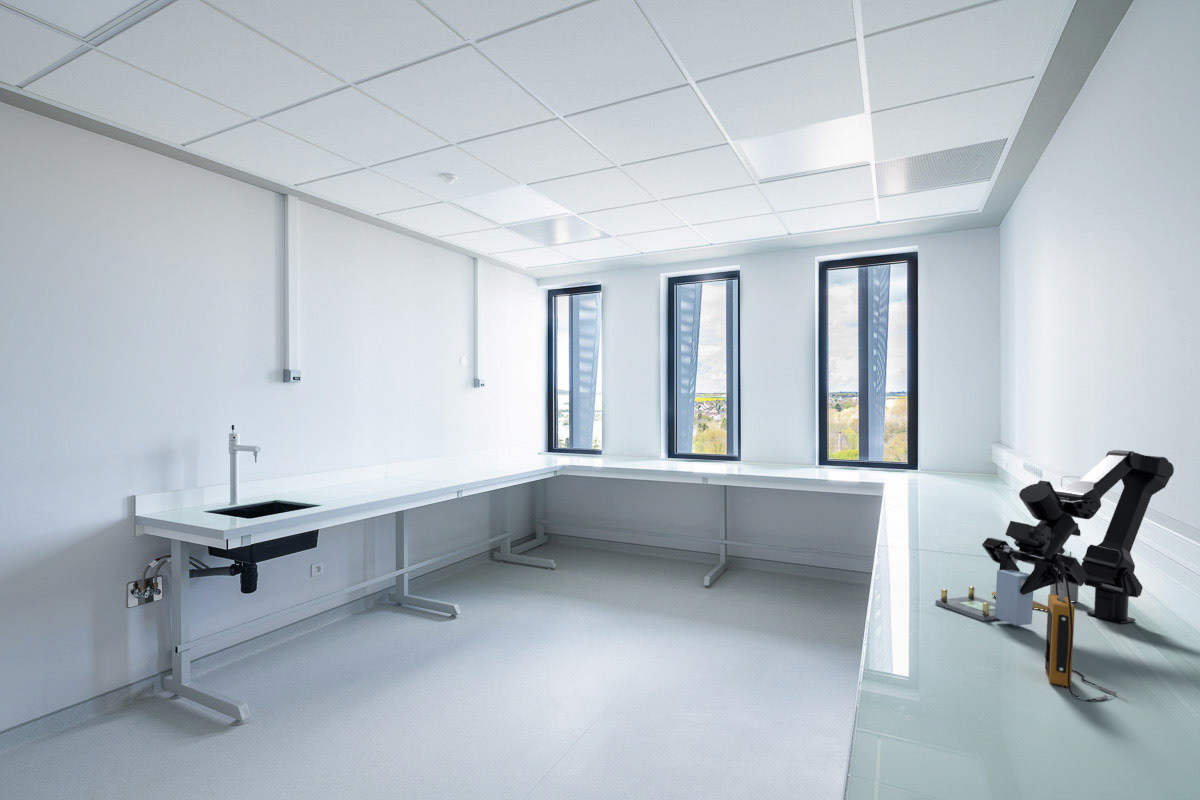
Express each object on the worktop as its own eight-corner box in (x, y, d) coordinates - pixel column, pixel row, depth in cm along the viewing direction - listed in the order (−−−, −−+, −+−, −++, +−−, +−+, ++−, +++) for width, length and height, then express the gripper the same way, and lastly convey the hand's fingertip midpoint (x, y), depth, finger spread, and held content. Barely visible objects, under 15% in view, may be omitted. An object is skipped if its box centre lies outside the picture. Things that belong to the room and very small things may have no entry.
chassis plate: (972, 600, 139) (973, 585, 139) (1021, 616, 129) (1022, 600, 129) (935, 604, 134) (936, 589, 134) (983, 621, 124) (984, 605, 124)
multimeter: (1137, 714, 86) (1143, 578, 87) (1052, 693, 92) (1058, 565, 92) (1115, 678, 99) (1121, 559, 99) (1041, 662, 104) (1047, 549, 104)
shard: (1054, 615, 133) (1054, 607, 133) (1023, 614, 132) (1023, 606, 132) (1015, 599, 144) (1016, 592, 144) (986, 598, 143) (987, 591, 143)
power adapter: (1077, 603, 142) (1080, 553, 142) (1049, 598, 145) (1051, 549, 146) (1077, 600, 144) (1079, 552, 145) (1050, 595, 148) (1052, 547, 148)
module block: (1010, 616, 125) (1012, 569, 126) (1032, 624, 121) (1034, 575, 121) (994, 617, 124) (996, 570, 124) (1016, 625, 120) (1018, 576, 120)
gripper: (990, 501, 133) (950, 551, 129) (1079, 517, 115) (1037, 575, 112) (1013, 535, 135) (975, 585, 132) (1105, 556, 118) (1064, 615, 114)
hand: (1009, 589), depth 122 cm, fingers closed on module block, 5 cm apart
